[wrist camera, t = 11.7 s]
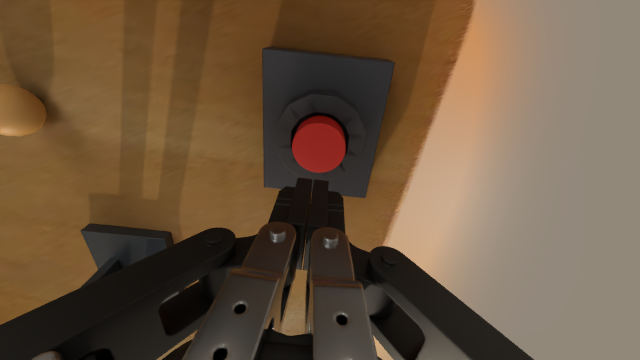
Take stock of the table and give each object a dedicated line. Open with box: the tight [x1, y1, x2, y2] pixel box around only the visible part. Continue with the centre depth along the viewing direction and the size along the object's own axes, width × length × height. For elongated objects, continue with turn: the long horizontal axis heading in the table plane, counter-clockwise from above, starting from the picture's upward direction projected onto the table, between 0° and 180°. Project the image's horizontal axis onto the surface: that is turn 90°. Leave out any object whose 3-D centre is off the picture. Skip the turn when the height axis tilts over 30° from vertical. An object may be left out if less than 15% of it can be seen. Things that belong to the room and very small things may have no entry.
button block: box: [262, 47, 395, 198], centre depth 20 cm, size 11×9×4 cm
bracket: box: [81, 224, 184, 303], centre depth 26 cm, size 12×9×13 cm
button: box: [292, 116, 346, 173], centre depth 18 cm, size 4×4×2 cm
